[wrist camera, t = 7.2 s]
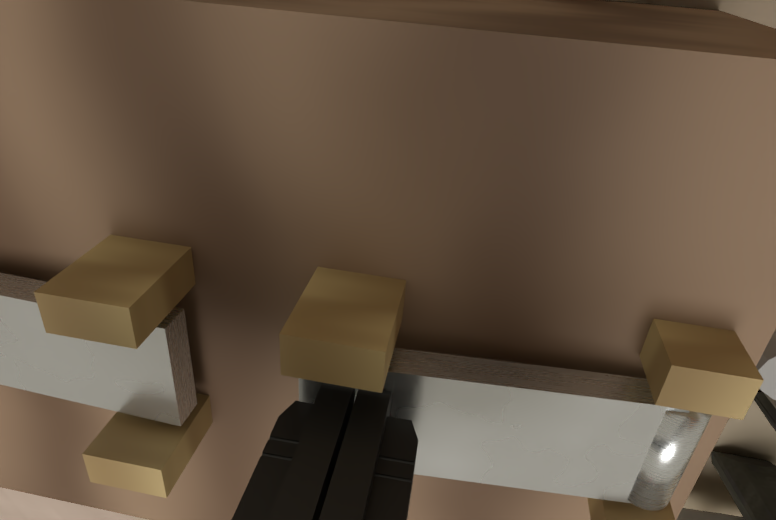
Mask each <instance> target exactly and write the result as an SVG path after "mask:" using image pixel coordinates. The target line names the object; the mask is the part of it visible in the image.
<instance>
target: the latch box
mask: <svg viewBox="0 0 776 520" xmlns="http://www.w3.org/2000/svg"><path fill="white" fill-rule="evenodd" d="M0 273H5V274H10V275H15V276H21V277H26V278H31V279H36V280H41V281H46V283H45V284H44V285H42V286H41V287H40V288H38V289H37V290H36V291H34V294H35V298H36V301H37V304H38V308H39V311H40V314H41V318H42V321H43V325H44V328H45V331H46V333H50V334H56V335H61V336H67V337H73V338H78V339H84V340H89V341H95V342H100V343H106V344H111V345H117V346H123V347H128V348H134V349H137V348H138V347H139V346H140V345H141V344H142V343H143V342H144V341H145V339H146V338H147V337H148V336H149V335H150V334H151V333H152V332H153V331H154V329H155V328H156V327H157V326H158V325H159V324H160V323H161V322H162V321H163V319H164V318H165V317H166V316H167V315H168V314H169V313H170V312H171V311H172V309H173V308H174V307H178V308H183V309H184V312H185V319H186V326H187V334H188V341H189V348H190V355H191V362H192V369H193V377H194V384H195V391H196V398H197V405H196V406H195V408H194V409H193V410H192V412H191V413H190V415H189V416H188V417H187V419H186V420H185V421H184V423H183V424H182V426H177V425H172V424H168V423H164V422H160V421H155V420H151V419H147V418H142V417H138V416H134V415H129V414H125V413H121V412H117V411H112V410H108V409H104V408H99V407H95V406H91V405H86V404H82V403H78V402H74V401H69V400H65V399H61V398H56V397H52V396H48V395H43V394H39V393H35V392H31V391H26V390H22V389H18V388H13V387H9V386H5V385H0V487H2V488H7V489H12V490H16V491H21V492H25V493H30V494H34V495H39V496H44V497H48V498H53V499H57V500H62V501H67V502H71V503H76V504H80V505H85V506H89V507H94V508H99V509H103V510H108V511H112V512H117V513H122V514H126V515H131V516H135V517H140V518H144V519H149V520H231V519H232V517H233V516H234V513H235V511H236V509H237V507H238V505H239V502H240V500H241V498H242V496H243V494H244V491H245V489H246V487H247V485H248V483H249V480H250V478H251V476H252V474H253V472H254V469H255V467H256V465H257V463H258V461H259V458H260V456H262V452H263V450H264V447H265V445H266V443H267V441H268V440H269V438H270V434H271V432H272V430H273V428H274V425H275V423H276V421H277V419H278V417H279V415H281V414H282V413H283V412H284V411H285V410H286V409H287V408H288V407H289V406H290V405H291V404H293V403H294V402H295V401H299V380H298V378H301V379H306V380H312V381H317V382H323V383H328V384H334V385H340V386H345V387H351V388H356V389H362V390H367V391H373V392H378V393H382V392H383V388H384V384H385V380H386V377H387V373H388V369H389V366H390V362H391V358H392V355H393V351H394V348H402V349H410V350H418V351H426V352H434V353H443V354H451V355H459V356H467V357H475V358H484V359H492V360H500V361H508V362H516V363H525V364H533V365H541V366H549V367H557V368H566V369H574V370H582V371H590V372H598V373H606V374H615V375H623V376H631V377H639V378H647V381H648V384H649V387H650V390H651V393H652V397H653V400H654V403H655V405H659V406H664V407H670V408H676V409H682V410H688V411H693V412H699V413H705V414H711V415H712V416H711V418H710V420H709V422H708V425H707V427H706V429H705V431H704V433H703V435H702V437H701V439H700V441H699V443H698V445H697V447H696V449H695V451H694V453H693V455H692V457H691V459H690V461H689V463H688V465H687V467H686V469H685V471H684V473H683V475H682V477H681V479H680V481H679V483H678V485H677V487H676V489H675V491H674V493H673V495H672V497H671V499H670V501H669V503H668V505H667V506H666V507H665V508H663V509H661V510H655V511H652V510H646V509H642V508H640V507H637V506H635V505H634V504H632V503H624V502H617V501H610V500H602V499H595V498H587V497H580V496H572V495H565V494H558V493H550V492H543V491H535V490H528V489H520V488H513V487H506V486H498V485H491V484H483V483H476V482H468V481H461V480H454V479H446V478H439V477H431V476H424V475H416V474H414V477H413V484H412V491H411V498H410V504H409V511H408V518H407V520H676V519H677V518H678V516H679V514H680V512H681V510H682V508H683V506H684V504H685V502H686V500H687V498H688V496H689V494H690V493H691V491H692V489H693V487H694V485H695V483H696V481H697V479H698V477H699V475H700V473H701V471H702V469H703V468H704V466H705V464H706V462H707V460H708V458H709V456H710V454H711V452H712V450H713V448H714V446H715V444H716V442H717V441H718V439H719V437H720V435H721V433H722V431H723V429H724V427H725V425H726V423H727V421H728V419H729V418H734V419H740V420H743V418H744V417H745V415H746V413H747V411H748V409H749V407H750V405H751V404H752V402H753V400H754V398H755V396H756V394H757V392H758V390H759V389H760V387H761V385H762V383H763V381H764V380H763V378H762V376H761V374H760V373H759V371H758V369H757V368H756V366H757V364H758V362H759V360H760V358H761V356H762V354H763V352H764V350H765V348H766V346H767V344H768V342H769V340H770V339H771V337H772V335H773V333H774V331H775V329H776V29H774V28H771V27H768V26H765V25H762V24H759V23H756V22H753V21H750V20H747V19H744V18H741V17H738V16H735V15H731V14H728V13H725V12H722V11H718V10H707V9H696V8H684V7H673V6H662V5H651V4H640V3H629V2H618V1H607V0H0Z"/></svg>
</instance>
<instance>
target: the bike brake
mask: <svg viewBox="0 0 776 520" xmlns="http://www.w3.org/2000/svg"><path fill="white" fill-rule="evenodd" d="M756 368H757V369H758V371H759V373H760V374H761V376H762V378H763V380H764V381H763V383H762V385H761V387H760V390H761V391H762V392H759V393H757V394H756V396H755V398H754V400H755V402H756V403H757V405H758V406H759V408H760V409H761V411H762V412H763V414H764V415H765V417H766V418H767V420H768V421H769V423H770V424H771V425H772V427H773V428H774V429H775V431H776V329H775V331H774V333H773V335H772V337H771V339H770V340H769V342H768V344H767V346H766V348H765V350H764V352H763V354H762V356H761V358H760V360H759V362H758V364H757V366H756ZM711 454H712V464H713V465H714V467H715V469H716V470H717V472H718V474H719V476H720V477H721V479H722V481H723V483H724V484H725V486H726V488H727V490H728V491H729V493H730V495H731V496H732V498H733V500H734V502H735V503H736V505H737V507H738V509H739V510H740V512H741V514H742V516H743V517H739V516H733V515H727V514H721V513H713V512H705V511H698V510H693V509H686V508H682V510H681V512H680V514H679V516H678V518H677V519H676V520H776V466H775V465H774V464H772V463H771V462H769V461H764V460H760V459H754V458H749V457H743V456H738V455H732V454H726V453H720V452H714V451H712V452H711Z"/></svg>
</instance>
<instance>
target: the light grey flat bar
mask: <svg viewBox="0 0 776 520" xmlns="http://www.w3.org/2000/svg"><path fill="white" fill-rule="evenodd" d="M45 283H46V281H41V280H36V279H31V278H26V277H21V276H15V275H10V274H5V273H0V385H5V386H9V387H13V388H18V389H22V390H26V391H31V392H35V393H39V394H43V395H48V396H52V397H56V398H61V399H65V400H69V401H74V402H78V403H82V404H86V405H91V406H95V407H99V408H104V409H108V410H112V411H117V412H121V413H125V414H129V415H134V416H138V417H142V418H147V419H151V420H155V421H160V422H164V423H168V424H172V425H177V426H182V424H183V423H184V421H185V420H186V419H187V417H188V416H189V415H190V413H191V412H192V410H193V409H194V408H195V406H196V405H197V398H196V391H195V384H194V377H193V369H192V362H191V355H190V348H189V341H188V334H187V326H186V319H185V312H184V309H183V308H178V307H174V308H173V309H172V311H171V312H170V313H169V314H168V315H167V316H166V317H165V318H164V319H163V321H162V322H161V323H160V324H159V325H158V326H157V327H156V328H155V329H154V331H153V332H152V333H151V334H150V335H149V336H148V337H147V338H146V339H145V341H144V342H143V343H142V344H141V345H140V346H139V347H138V348H137V349H134V348H128V347H123V346H117V345H111V344H106V343H100V342H95V341H89V340H84V339H78V338H73V337H67V336H61V335H56V334H50V333H46V331H45V328H44V325H43V321H42V318H41V314H40V311H39V308H38V304H37V301H36V298H35V294H34V291H36V290H37V289H38V288H40V287H41V286H42V285H44V284H45Z"/></svg>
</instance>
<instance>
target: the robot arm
mask: <svg viewBox="0 0 776 520" xmlns="http://www.w3.org/2000/svg"><path fill="white" fill-rule="evenodd" d="M391 396H392V392H389V391H383V392H382V393H378V392H373V391H367V390H362V389H359V390H358V393H357V396H356V399H355V402H354V397H355V388H351V387H345V386H340V385H334V384H328V383H323V382H322V384H321V386H320V389H319V391H318V394H317V396H316V399H315V401H314V404H313V403H307V402H301V401H295V402H294V403H293V404H291V405H290V406H289V407H288V408H287V409H286V410H285V411H284V412H283V413H282V414H281V415H279V417H278V419H277V421H276V423H275V425H274V428H273V430H272V432H271V434H270V438H269V440H268V441H267V443H266V445H265V447H264V450H263V452H262V456H260V458H259V461H258V463H257V465H256V467H255V469H254V472H253V474H252V476H251V478H250V480H249V483H248V485H247V487H246V489H245V491H244V494H243V496H242V498H241V500H240V502H239V505H238V507H237V509H236V511H235V513H234V516H233V517H232V519H231V520H407V518H408V511H409V504H410V498H411V491H412V484H413V477H414V469H415V462H416V454H417V447H418V438H417V435H416V432H415V429H414V426H413V423H412V420H407V419H401V418H395V417H390V407H391Z"/></svg>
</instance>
